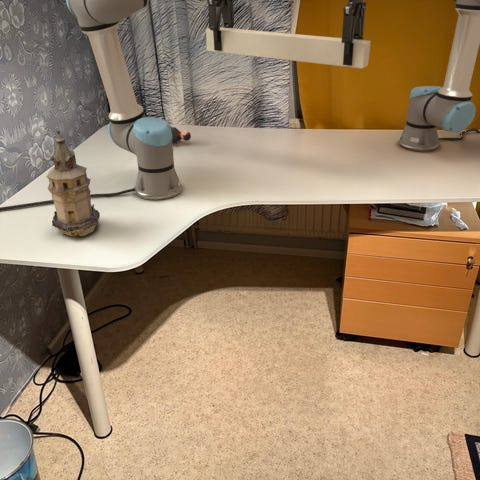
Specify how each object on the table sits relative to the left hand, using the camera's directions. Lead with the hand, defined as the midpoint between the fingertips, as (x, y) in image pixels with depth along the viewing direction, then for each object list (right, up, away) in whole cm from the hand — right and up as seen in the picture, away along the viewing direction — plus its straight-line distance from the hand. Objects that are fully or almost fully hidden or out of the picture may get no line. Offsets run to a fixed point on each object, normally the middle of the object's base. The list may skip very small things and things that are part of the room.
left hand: (222, 48), depth 190 cm
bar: (+21, -7, -10) cm, 24 cm away
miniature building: (-41, -65, -34) cm, 84 cm away
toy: (-28, -28, +31) cm, 50 cm away
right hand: (+41, -12, -21) cm, 48 cm away
